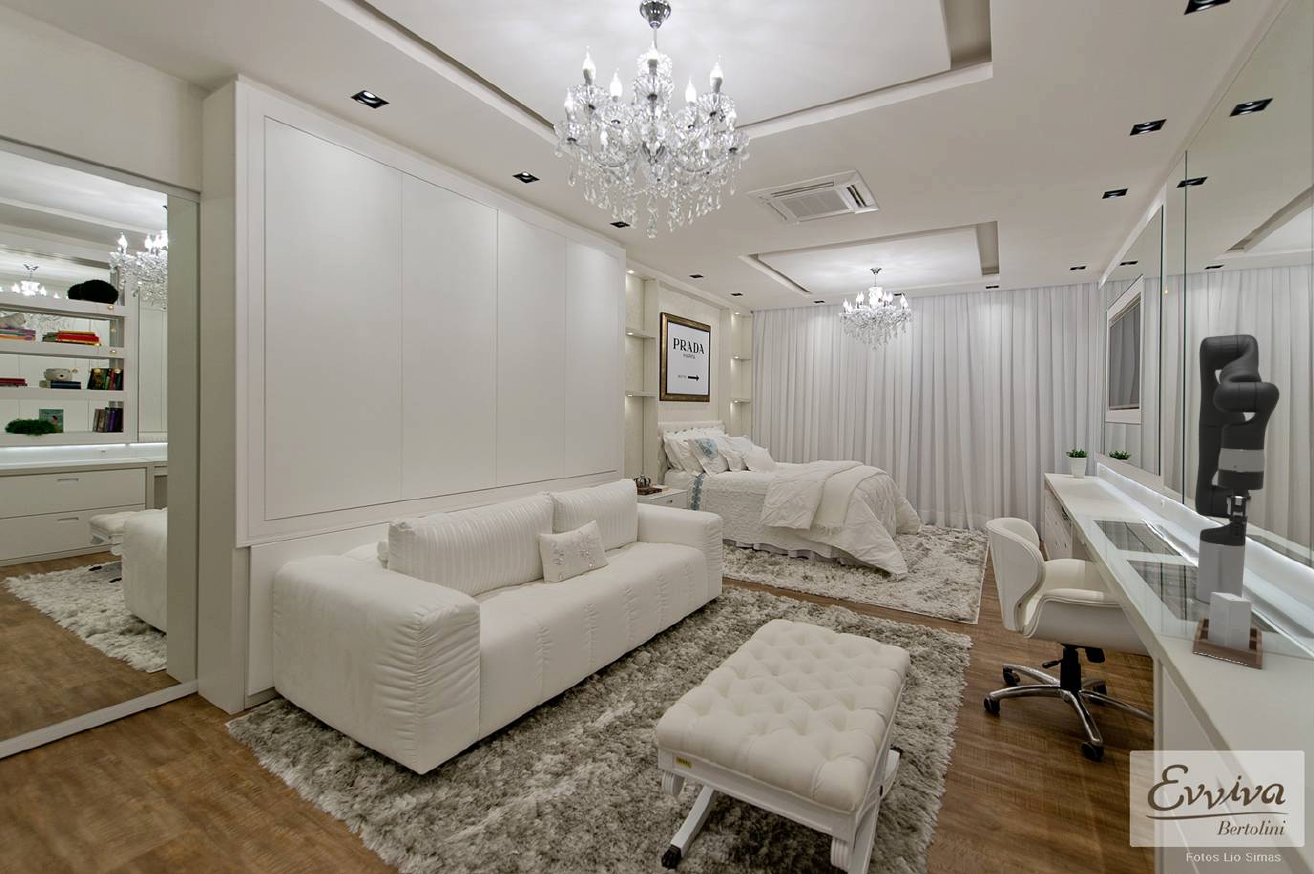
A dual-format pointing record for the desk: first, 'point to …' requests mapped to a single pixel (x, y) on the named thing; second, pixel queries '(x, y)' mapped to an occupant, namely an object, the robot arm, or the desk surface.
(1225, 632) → the skincare box
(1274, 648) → the desk surface
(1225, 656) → the wooden divided tray
